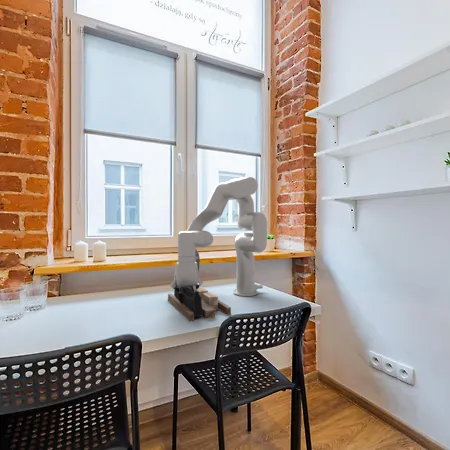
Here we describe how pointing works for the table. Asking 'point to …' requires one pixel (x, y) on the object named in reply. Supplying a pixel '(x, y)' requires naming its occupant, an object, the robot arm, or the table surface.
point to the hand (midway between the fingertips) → (186, 300)
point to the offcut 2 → (210, 300)
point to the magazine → (191, 300)
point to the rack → (206, 309)
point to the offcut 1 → (201, 291)
